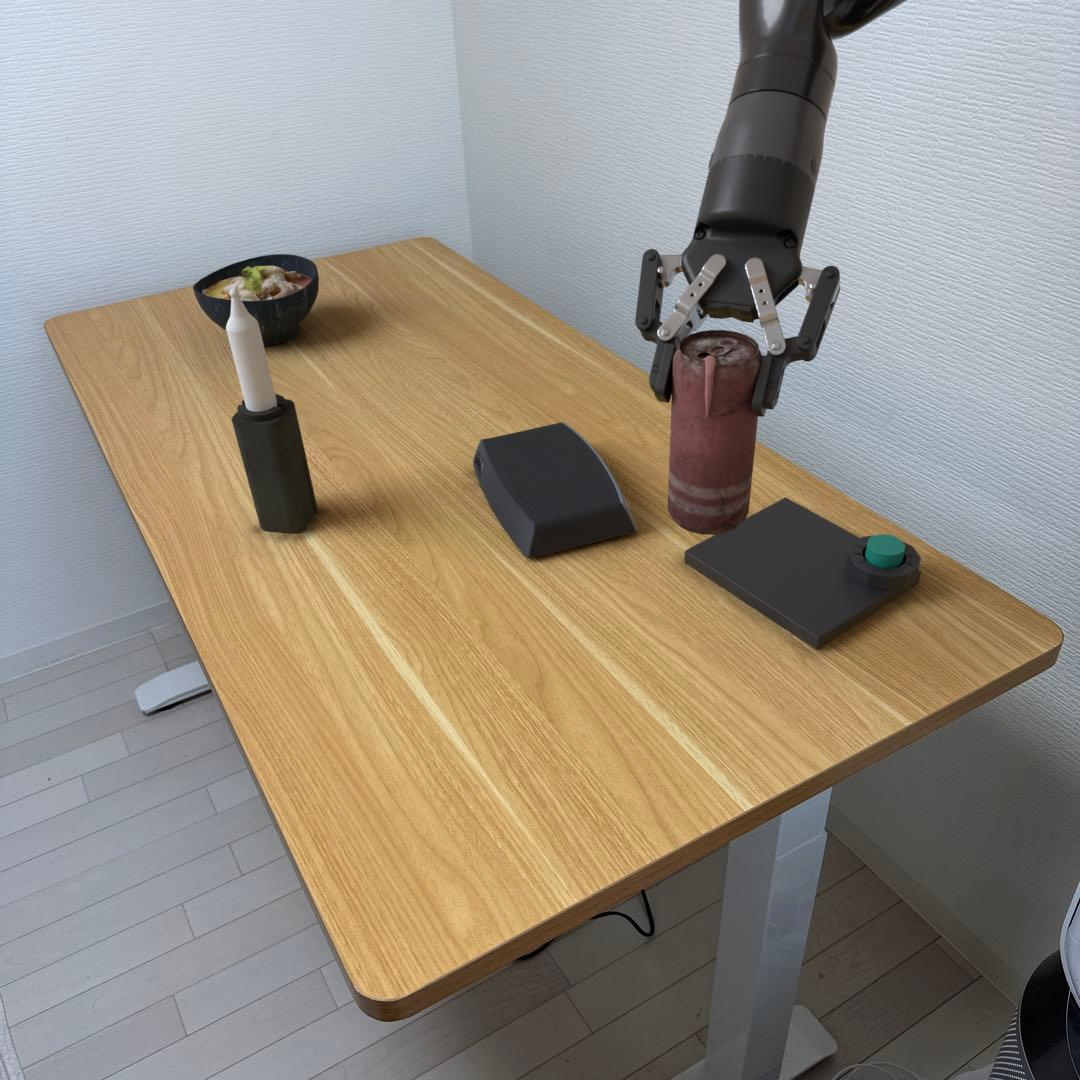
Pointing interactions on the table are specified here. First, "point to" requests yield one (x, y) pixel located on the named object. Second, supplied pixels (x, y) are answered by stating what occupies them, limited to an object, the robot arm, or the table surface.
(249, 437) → the candle
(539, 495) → the hard drive
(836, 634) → the scale
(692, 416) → the can
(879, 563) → the button
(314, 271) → the bowl
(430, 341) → the table surface
